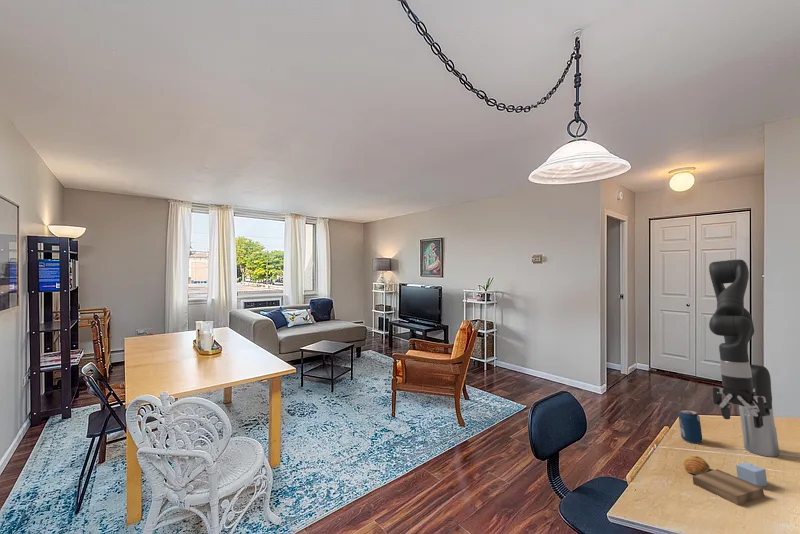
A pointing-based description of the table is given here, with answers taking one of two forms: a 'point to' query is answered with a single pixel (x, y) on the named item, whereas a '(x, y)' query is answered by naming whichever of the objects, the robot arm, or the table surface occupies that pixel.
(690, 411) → the soda can
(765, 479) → the blue cube
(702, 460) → the pastry
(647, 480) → the table surface
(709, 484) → the walnut base
